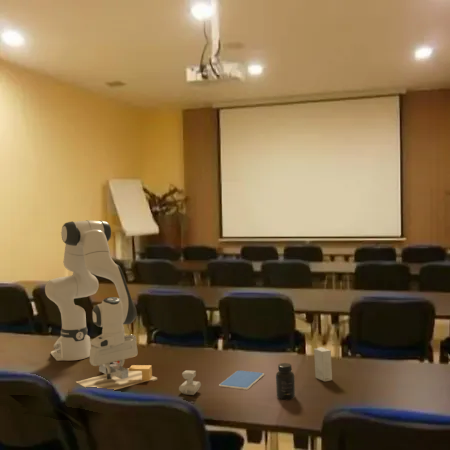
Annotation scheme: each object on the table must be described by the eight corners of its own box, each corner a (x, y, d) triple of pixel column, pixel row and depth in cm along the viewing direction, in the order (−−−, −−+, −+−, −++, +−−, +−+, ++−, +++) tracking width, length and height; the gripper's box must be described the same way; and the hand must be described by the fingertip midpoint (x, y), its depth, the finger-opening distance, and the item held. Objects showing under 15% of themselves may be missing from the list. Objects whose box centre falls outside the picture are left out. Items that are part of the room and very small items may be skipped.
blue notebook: (247, 391, 209) (247, 388, 209) (218, 387, 214) (217, 384, 214) (265, 375, 226) (265, 372, 226) (237, 372, 232) (237, 369, 232)
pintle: (105, 380, 225) (105, 365, 225) (110, 379, 226) (109, 364, 226) (108, 381, 223) (107, 367, 223) (112, 380, 225) (112, 365, 224)
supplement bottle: (274, 394, 203) (274, 362, 203) (292, 393, 204) (292, 361, 203) (278, 400, 197) (277, 368, 196) (296, 399, 197) (296, 367, 197)
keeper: (128, 382, 222) (128, 369, 221) (132, 378, 227) (131, 365, 226) (149, 382, 221) (149, 368, 221) (152, 378, 226) (151, 365, 226)
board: (75, 383, 222) (75, 381, 222) (132, 369, 239) (132, 367, 239) (98, 396, 206) (98, 394, 206) (157, 379, 223) (157, 378, 223)
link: (99, 371, 225) (98, 363, 225) (112, 367, 229) (111, 360, 229) (118, 380, 213) (118, 371, 213) (131, 376, 217) (131, 368, 216)
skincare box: (332, 380, 217) (332, 350, 216) (323, 382, 215) (322, 351, 214) (323, 375, 222) (322, 346, 222) (314, 377, 221) (313, 348, 220)
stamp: (194, 398, 202) (193, 375, 201) (177, 397, 204) (177, 374, 203) (202, 389, 210) (201, 368, 210) (186, 388, 212) (185, 367, 212)
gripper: (131, 332, 229) (133, 364, 230) (87, 341, 216) (88, 375, 217) (139, 334, 224) (141, 367, 225) (94, 344, 211) (95, 379, 212)
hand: (114, 371), depth 221 cm, fingers closed on link, 3 cm apart
